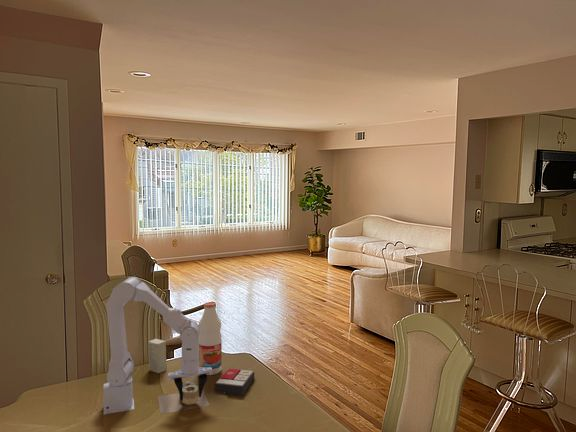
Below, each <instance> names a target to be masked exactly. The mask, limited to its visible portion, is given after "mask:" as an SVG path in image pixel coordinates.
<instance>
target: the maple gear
mask: <svg viewBox="0 0 576 432" xmlns="http://www.w3.org/2000/svg"><path fill="white" fill-rule="evenodd" d="M182 393H183V400H182V402H183V403H184V404H188V405H189V404H194V403H196V402H198V401H199V387H198V385H196V386H195V385H189V386H185V387H184V388H182Z"/></svg>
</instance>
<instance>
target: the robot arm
mask: <svg viewBox="0 0 576 432" xmlns="http://www.w3.org/2000/svg"><path fill="white" fill-rule="evenodd" d="M132 299H133V300H132ZM131 300H132V301H133V302H144V303H146V305H148V306H149V307H150V308H152V309H154V310H155V311H156V312H157V313H159V314H160V315H161V316H162V319H163V322H164V324H166V325H168V327H169V328H171V329H172V330H173V331H174V332H175V333H177V334H179V338H180V340H181V369H178V370H176V371H172V372H168V373H167V379H168V380H167V381H168V382H171V381H174V384H175V386H176V388H177V390H178V393H179V394H180V400H183V393H182V387H183V383H184V382H183V379H185V378H189V379H192V378H195V377H197V386H198V387H199V397H201V394H202V390H203V391H204V387H205V384H206V382H207V381H208V376H213V375H212V368H211V367H199V344H198V342H199V340H198V337H199V334H200V327H199V323H198V322H197V321H194V320H192V319H191V318H188V317H187V316H186V315H185V314H183V313H182V310H181V309H180V308H176V307H169V305H167V304H166V303H165V302H164V301H163V300H162V299H161V298H160V297H159V296H158V295H157V294H156V293H155V292H154V291H152V289H150V287H149V286H148V285H147V283H145V282H143V281H142V280H141V279H140V278H139V277H136V276H130V277H127V278H126V279H124V281H122V282H120V283H119V284H117V285H116V286H115V287H113V288H112V292H111V294H110V296H109V297H108V300H107V302H106V304H105V305H106V306H105V307H106V316H107V328H108V337H109V347H110V355H111V356H110V360H109V363H108V371H107V374H106V380H107V382H105V383H103V385H102V386H103V394H102V395H103V396H102V397H103V400H102V407H103V416H105V415H108V414H115V413H120V412H125V411H131V410H135V400H134V399H135V398H134V397H133V396H134V395H133V376H132V373H133V371H134V369H135V362H134V360H133V359H132V357H131V353H130V352H129V351H128V342H127V340H128V339H127V332H126V322H125V321H126V320H125V311H124V306H125V305H126V304H127V303H128V302H129V301H131ZM207 374H209V375H207Z"/></svg>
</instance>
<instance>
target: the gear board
mask: <svg viewBox="0 0 576 432" xmlns="http://www.w3.org/2000/svg"><path fill="white" fill-rule="evenodd" d="M189 385H195V386H197V385H196V383H195V382H193V381H185V382H183V387H182V388H184V387H185V386H189ZM157 400H158V405H159V411H160V415H164V414H165V415H166V414H171V413H175V412H176V413H177V412H183V411H188V410H189V411H190V410H192V409H199V408H205V407H209V406H210V403H209V401H208V398H207V396H206V394H205V392H204V389H203V390H202V394H201V397H199V401H198V402H196V403H194V404H189V405H188V404H184V403H183V402H182V400H180V394H179V392H175V393H170V394H164V395H159V396H158V395H157Z"/></svg>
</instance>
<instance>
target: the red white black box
mask: <svg viewBox="0 0 576 432" xmlns="http://www.w3.org/2000/svg"><path fill="white" fill-rule="evenodd" d="M254 380H255V371H253V370H245V369H234V368H228V370H226V371H225V373H223V374H222V375H221V376H220V378H218V380H217V381H216V382H215V383H214V392H218V393H224V394H225V395H228V396H229V395H231V396H238V397H243V396H244V395H245V394H246V392H247V390H248V388H250V386H251V385H250V384H252V383H253V382H252V381H254Z"/></svg>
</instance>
